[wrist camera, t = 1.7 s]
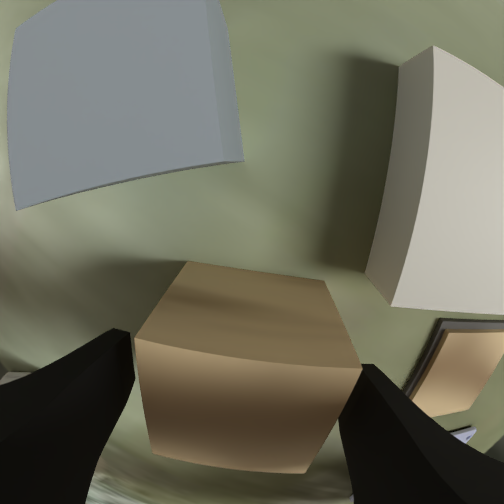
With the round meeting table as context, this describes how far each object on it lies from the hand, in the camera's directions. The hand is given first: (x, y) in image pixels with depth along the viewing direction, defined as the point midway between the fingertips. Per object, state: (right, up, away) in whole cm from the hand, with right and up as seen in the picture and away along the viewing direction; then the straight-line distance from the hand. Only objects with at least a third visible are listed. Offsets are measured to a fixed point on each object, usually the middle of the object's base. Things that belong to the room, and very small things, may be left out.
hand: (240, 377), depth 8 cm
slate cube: (-3, +9, 0) cm, 9 cm away
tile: (+12, -3, +3) cm, 13 cm away
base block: (+9, +6, +1) cm, 11 cm away
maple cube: (0, +1, +3) cm, 3 cm away
